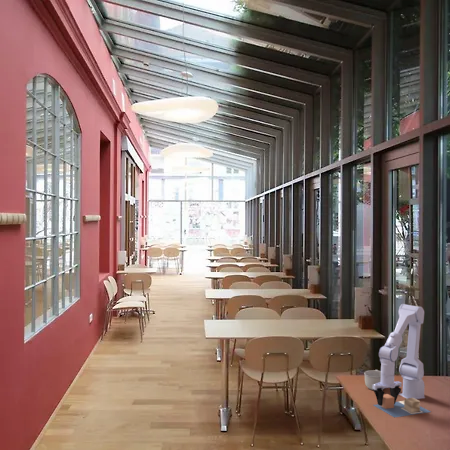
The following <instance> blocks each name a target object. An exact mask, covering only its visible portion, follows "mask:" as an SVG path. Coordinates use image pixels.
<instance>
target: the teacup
mask: <svg viewBox="0 0 450 450" xmlns="http://www.w3.org/2000/svg"><path fill="white" fill-rule="evenodd" d="M363 374H364V384H365V386H366V387H367V388H368V390H372V391H373V389H372V386H373V384H376V383H379V382H381V370H378V369H375V370H374V369H373V370H365V371H364V373H363ZM384 389H386V388H383V389H382V391H384Z"/></svg>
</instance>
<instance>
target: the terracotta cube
mask: <svg viewBox="0 0 450 450" xmlns="http://www.w3.org/2000/svg"><path fill="white" fill-rule="evenodd" d="M382 407H383V408H385V409H388V408H394V397H392V396H391V394H388V393H384V396H383V403H382Z"/></svg>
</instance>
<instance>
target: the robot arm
mask: <svg viewBox="0 0 450 450" xmlns="http://www.w3.org/2000/svg"><path fill="white" fill-rule="evenodd" d="M424 320H425V310H424V308H423V307H422V306H416V305H410V304H406V303H402V304H400V306H399V308H398V320H397V322H396V325H395V329H394V330H393V331H392V332H390V333H389V335H388V338H387V339H386V342H385V344H384V345H382V346H381V347H380V348H379V351H378V357H379V362H380V364H381V365H380V371H381V382H379V383H376V384H373V386H372V389H373V390H372V389H371V390H372V391H373V392H374V394H375V395H374V396H375V397H376V401H377V404H378V405H380V406H382V403H383V396H384V394H386V393H385V391H384V389H383V388H385V389H389V392H390V396H392V397H394V404H395V402H397V399H398V397H399V396H401V397H403V398H404V399H406V398H414V399H416V400H420V399H425V398H426V397H425V382H424V380H423V378H424V374H425V371H424V363H423V362H422V361H421V360H420V359H419V351H420V349H419V348H420V338H421V325H423V324H424ZM407 328H408V334H407V335H408V336H407V347H406V357H404V358H402V359H401V361H400V365H399V368H398V371H399V374H400V376H401V378H402V381H399V380H398V381H397V380H396V381H395V366H396V365H395V362H396V360H397V359H398V356H399V348H400V346H401V343H402V341H403V336H402V335H403V334H404V332H405V330H406V329H407ZM382 389H383V390H382ZM401 392H402V393H401Z"/></svg>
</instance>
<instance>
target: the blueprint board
mask: <svg viewBox="0 0 450 450" xmlns="http://www.w3.org/2000/svg"><path fill="white" fill-rule="evenodd" d="M404 401H405V400H401V401H396V402H395V404H394V408H388V409H385V408H383V407H382V406H380V405H378V403H377V404H373V406H374V407H375V408H377V409H379V410H381V412H382V411H383V412H384V413H386V414H388V415H389V416H391V417H393V418H401V417H406V416H413V415H414V416H415V415H419V414H427V413H431V412H432V411H431V410H429V409H426V408H425V407H423V406H421V405H420V412H413V413H411V412H409V411H407V410H405V409H404Z"/></svg>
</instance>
